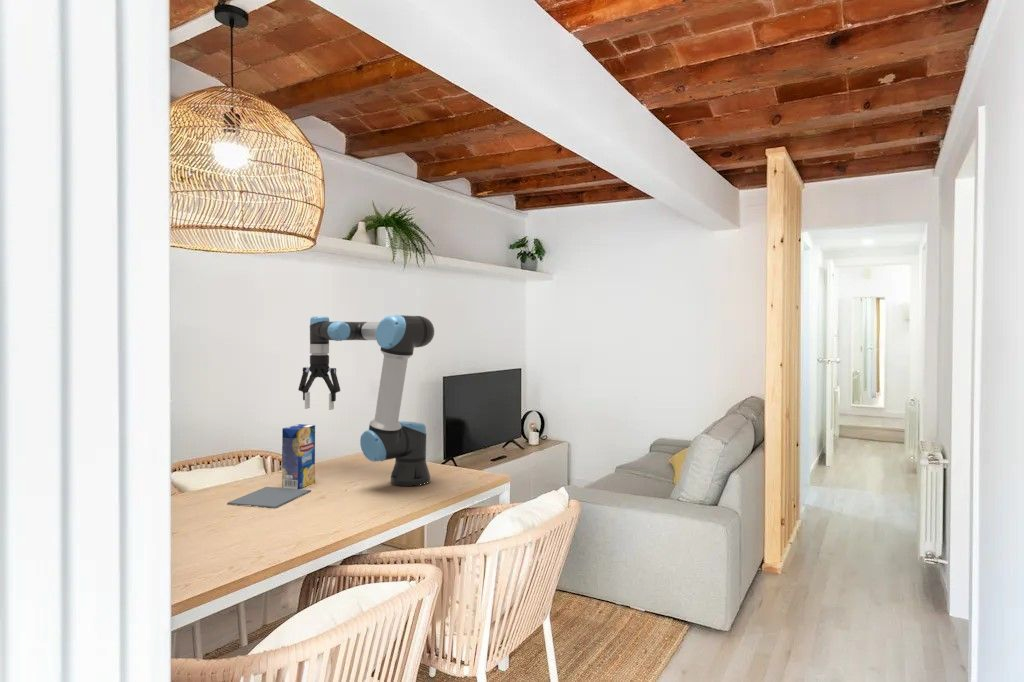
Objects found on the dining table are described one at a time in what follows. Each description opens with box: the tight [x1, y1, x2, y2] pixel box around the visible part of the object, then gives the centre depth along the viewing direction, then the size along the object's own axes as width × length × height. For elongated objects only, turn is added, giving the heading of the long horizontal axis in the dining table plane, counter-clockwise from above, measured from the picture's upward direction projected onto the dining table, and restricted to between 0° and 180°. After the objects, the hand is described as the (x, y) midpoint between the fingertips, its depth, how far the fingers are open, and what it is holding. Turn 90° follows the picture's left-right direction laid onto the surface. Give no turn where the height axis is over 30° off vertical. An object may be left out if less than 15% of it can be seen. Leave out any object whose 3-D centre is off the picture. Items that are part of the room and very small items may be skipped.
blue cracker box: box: [281, 423, 316, 489], centre depth 240 cm, size 7×11×22 cm, turn 166°
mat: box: [226, 486, 312, 509], centre depth 223 cm, size 18×22×1 cm
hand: (319, 408), depth 262 cm, fingers open, 10 cm apart
